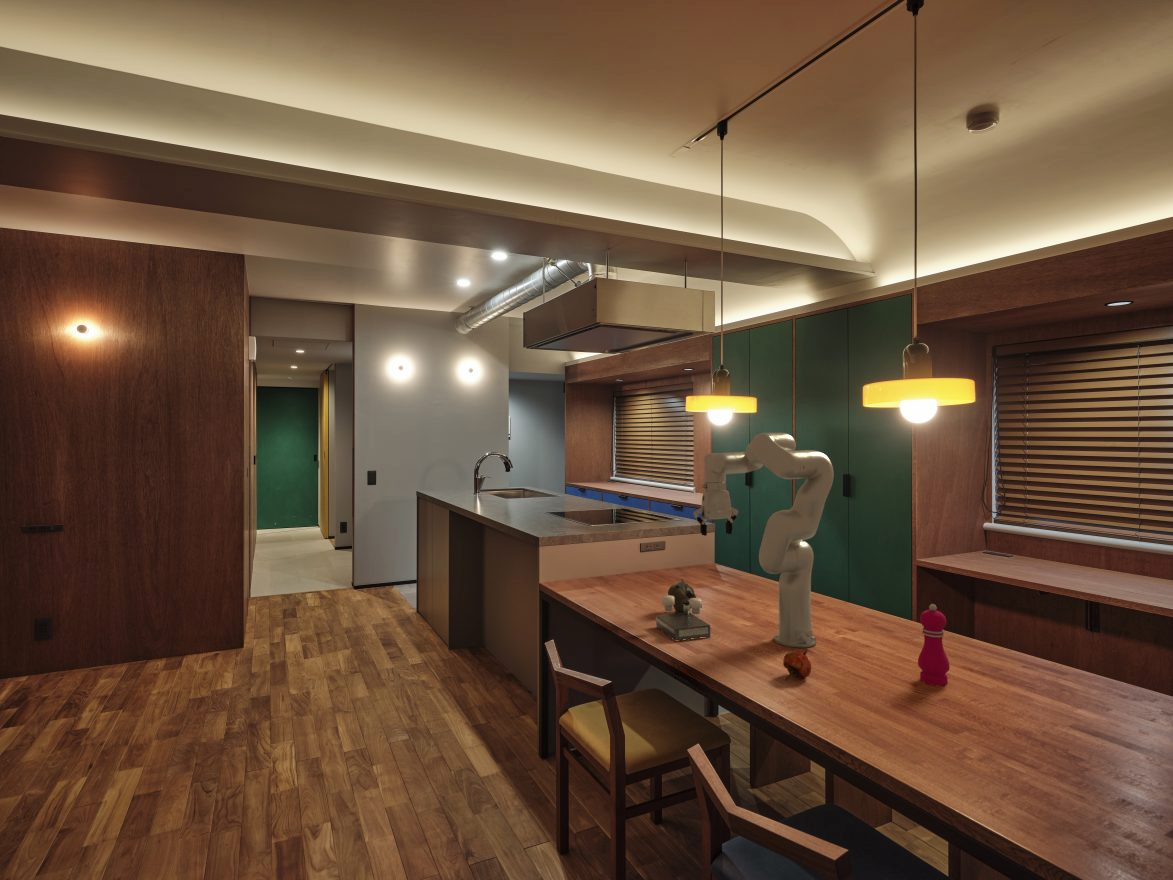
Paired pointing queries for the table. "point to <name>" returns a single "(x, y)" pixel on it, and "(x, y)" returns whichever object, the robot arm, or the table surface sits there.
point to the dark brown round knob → (686, 606)
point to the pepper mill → (933, 648)
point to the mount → (682, 626)
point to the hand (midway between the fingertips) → (716, 534)
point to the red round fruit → (797, 664)
